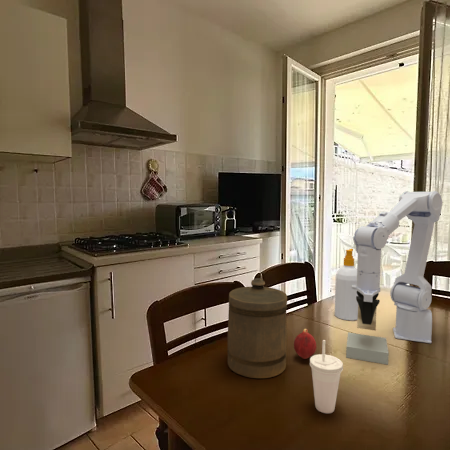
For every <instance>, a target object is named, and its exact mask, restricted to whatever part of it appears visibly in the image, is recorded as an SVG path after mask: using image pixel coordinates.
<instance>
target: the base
mask: <svg viewBox="0 0 450 450" xmlns="http://www.w3.org/2000/svg"><path fill="white" fill-rule="evenodd" d="M345 348H346V351H345V352H346V353H345V354H346V356H345V358H346V359H347V358H348V359H353V360H357V361H359V360H360V361H365V362H371V363H376V364H381V365H389V347H388V341H387V337H381V336H375V335H368V334H361V333H354V332H347V340H346V347H345Z"/></svg>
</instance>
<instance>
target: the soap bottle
mask: <svg viewBox="0 0 450 450" xmlns="http://www.w3.org/2000/svg"><path fill="white" fill-rule="evenodd" d="M353 252H354V248H349V249H345V256H344V257H343V265H342V266H341V267H340V268H339V269H338V270H337V271H336V275H335V285H334V289H335V292H334V293H335V294H334V316H335V317H336V318H338V319H340V320H344V321H358V302H357V300H356V296H358V294H357V290H356V289H352V285H357V267H356V266H355V258H354V256H353Z"/></svg>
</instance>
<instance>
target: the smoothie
mask: <svg viewBox="0 0 450 450" xmlns="http://www.w3.org/2000/svg"><path fill="white" fill-rule="evenodd" d="M321 348H322V350H321V354H320V353H319V354H313V355H312V356H311V357H309V367H310V368H311V375H312V377H311V378H312V386H313V397H314V406H315V408H316V410H317V411H318V412H321V413H323V414H332V413H333V412H335V409H336V408H335V407H336V403H337V397H338V393H339V392H338V391H339V385H340V379H341V373H342V372H343V370H344V363H343V361H342V360H341V359H339V358H338V357H336V356H334V355H330V354H326V340H325V339H322V347H321Z"/></svg>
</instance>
